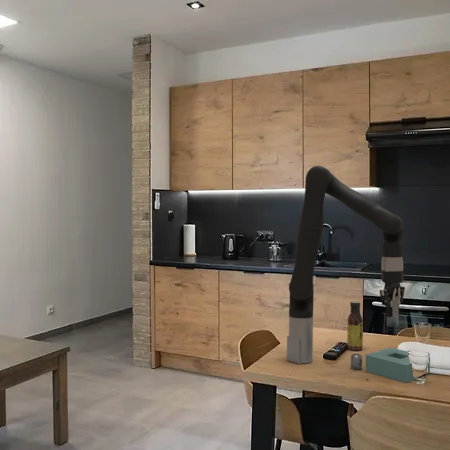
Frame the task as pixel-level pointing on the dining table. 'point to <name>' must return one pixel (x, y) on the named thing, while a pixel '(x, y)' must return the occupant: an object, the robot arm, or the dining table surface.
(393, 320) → the long pin
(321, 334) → the dining table surface
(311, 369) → the dining table surface
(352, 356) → the short pin
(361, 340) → the sauce bottle
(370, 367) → the hole block
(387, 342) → the dining table surface
